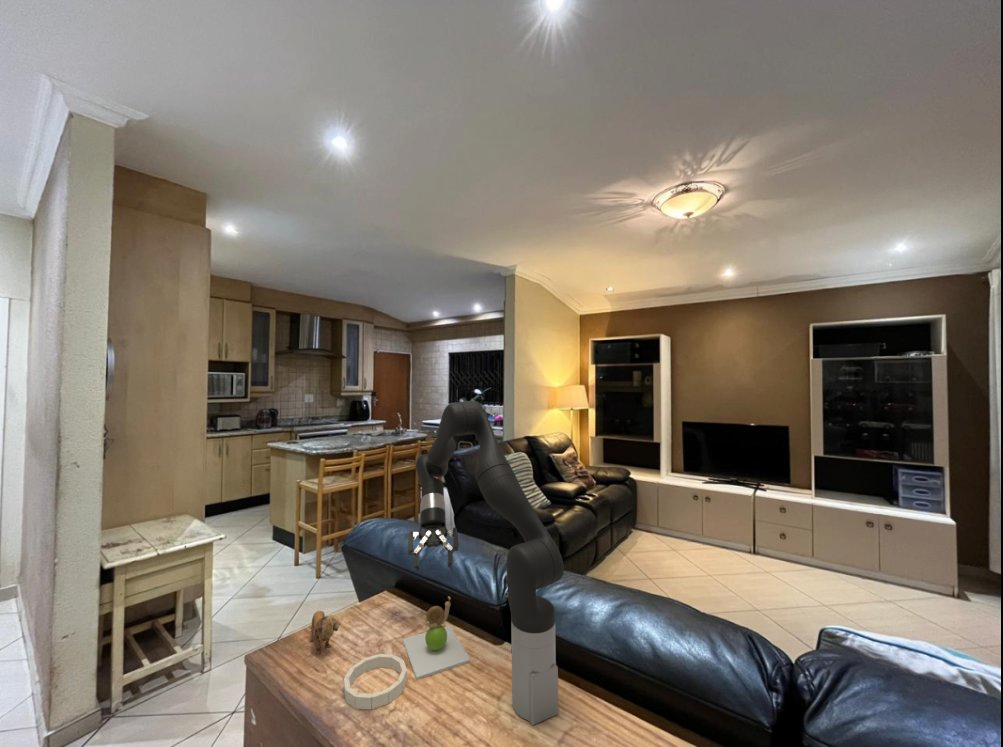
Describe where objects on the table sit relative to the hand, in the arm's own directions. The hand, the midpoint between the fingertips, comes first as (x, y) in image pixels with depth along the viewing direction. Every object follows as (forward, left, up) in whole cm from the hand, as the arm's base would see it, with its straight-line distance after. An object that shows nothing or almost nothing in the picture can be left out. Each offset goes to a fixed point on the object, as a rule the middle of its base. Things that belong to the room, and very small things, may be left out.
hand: (433, 567), depth 109 cm
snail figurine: (-9, +2, -16) cm, 19 cm away
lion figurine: (+7, +28, -17) cm, 33 cm away
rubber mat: (-9, +2, -16) cm, 19 cm away
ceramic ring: (-14, +17, -16) cm, 28 cm away
